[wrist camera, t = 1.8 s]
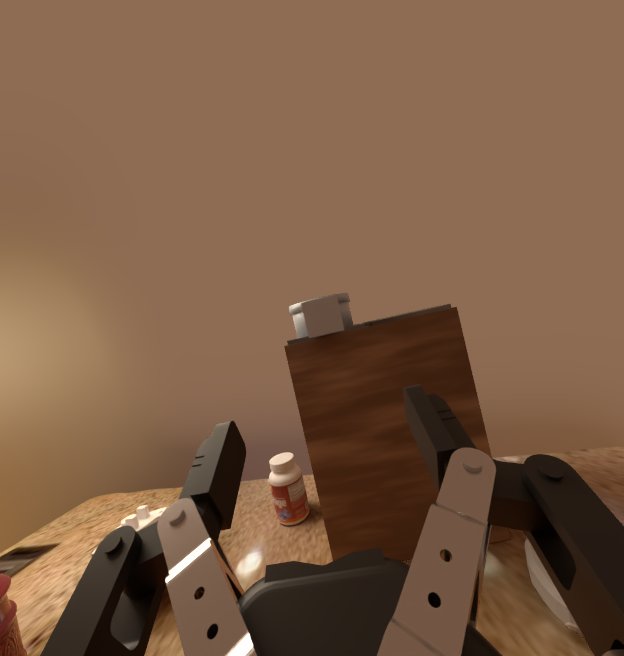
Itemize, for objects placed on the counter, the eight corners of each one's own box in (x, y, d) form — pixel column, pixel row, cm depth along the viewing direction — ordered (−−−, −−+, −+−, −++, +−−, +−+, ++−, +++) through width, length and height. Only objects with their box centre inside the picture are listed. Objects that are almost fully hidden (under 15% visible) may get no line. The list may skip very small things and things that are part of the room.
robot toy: (670, 566, 32) (513, 553, 37) (664, 526, 32) (508, 518, 37) (822, 714, 20) (564, 668, 25) (814, 651, 20) (557, 616, 25)
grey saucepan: (298, 337, 51) (292, 309, 51) (352, 325, 51) (345, 297, 51) (278, 345, 28) (266, 294, 28) (375, 322, 28) (363, 272, 28)
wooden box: (332, 503, 56) (294, 337, 56) (456, 477, 55) (417, 310, 55) (336, 573, 40) (283, 342, 40) (510, 539, 39) (455, 302, 39)
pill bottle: (272, 518, 56) (259, 461, 56) (298, 501, 59) (286, 448, 59) (288, 532, 51) (274, 469, 51) (316, 512, 54) (303, 454, 54)
